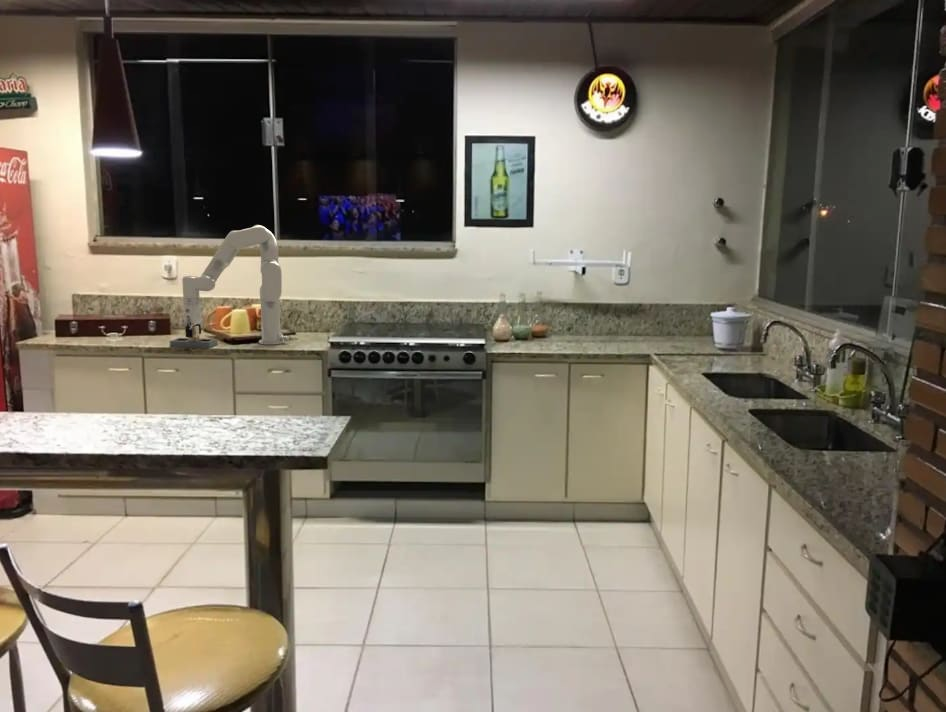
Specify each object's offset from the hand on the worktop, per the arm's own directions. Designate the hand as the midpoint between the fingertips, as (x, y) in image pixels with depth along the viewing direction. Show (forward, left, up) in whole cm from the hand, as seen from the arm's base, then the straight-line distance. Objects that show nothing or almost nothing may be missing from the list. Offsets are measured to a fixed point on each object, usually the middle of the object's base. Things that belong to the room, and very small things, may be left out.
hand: (193, 335), depth 382 cm
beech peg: (0, 0, -5) cm, 5 cm away
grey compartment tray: (0, 0, -5) cm, 5 cm away
